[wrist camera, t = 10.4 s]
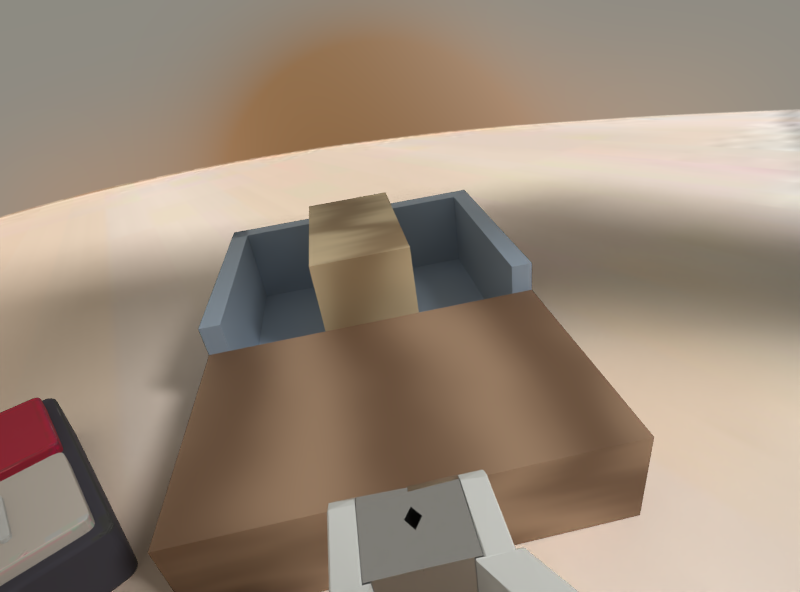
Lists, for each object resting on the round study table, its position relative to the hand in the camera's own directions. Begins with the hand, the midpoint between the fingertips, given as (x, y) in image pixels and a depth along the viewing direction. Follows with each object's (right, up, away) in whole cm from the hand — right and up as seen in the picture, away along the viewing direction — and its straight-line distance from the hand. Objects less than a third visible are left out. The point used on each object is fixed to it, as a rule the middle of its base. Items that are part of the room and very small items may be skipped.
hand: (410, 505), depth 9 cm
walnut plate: (0, -3, +12) cm, 12 cm away
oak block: (-2, +3, +16) cm, 16 cm away
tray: (-2, +2, +21) cm, 22 cm away
